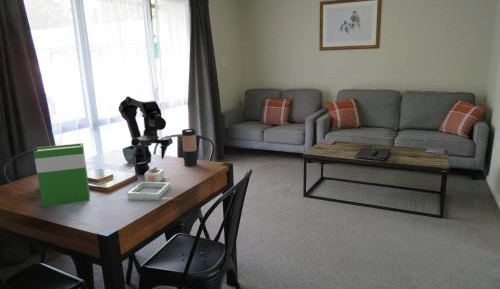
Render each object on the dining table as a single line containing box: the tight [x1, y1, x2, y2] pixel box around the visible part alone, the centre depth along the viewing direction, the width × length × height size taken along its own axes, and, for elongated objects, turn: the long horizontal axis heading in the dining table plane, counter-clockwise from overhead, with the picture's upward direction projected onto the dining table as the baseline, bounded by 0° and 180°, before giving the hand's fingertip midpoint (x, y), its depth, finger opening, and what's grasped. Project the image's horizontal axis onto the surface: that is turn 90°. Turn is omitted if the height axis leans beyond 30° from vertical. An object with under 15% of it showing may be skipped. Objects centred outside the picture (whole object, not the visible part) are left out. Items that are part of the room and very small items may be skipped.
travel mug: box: [181, 128, 198, 167], centre depth 201 cm, size 8×8×20 cm
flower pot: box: [122, 144, 134, 164], centre depth 209 cm, size 9×9×9 cm
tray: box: [127, 181, 171, 201], centre depth 160 cm, size 14×14×3 cm
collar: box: [144, 168, 165, 182], centre depth 174 cm, size 7×9×4 cm
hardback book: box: [33, 142, 91, 208], centre depth 152 cm, size 18×7×24 cm, turn 111°
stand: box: [151, 166, 170, 183], centre depth 174 cm, size 10×10×7 cm
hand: (153, 158), depth 173 cm, fingers open, 9 cm apart
